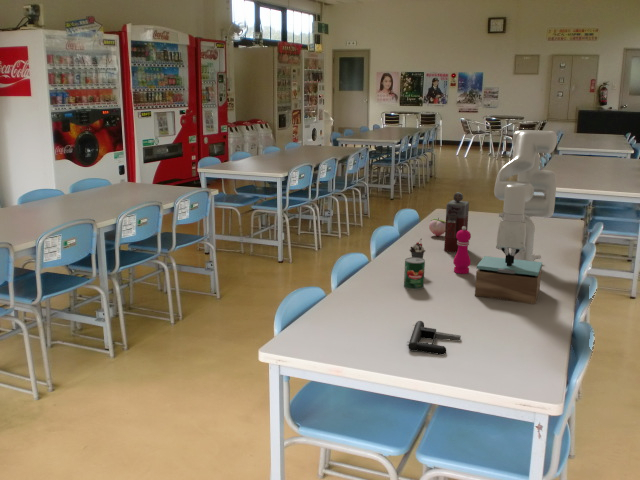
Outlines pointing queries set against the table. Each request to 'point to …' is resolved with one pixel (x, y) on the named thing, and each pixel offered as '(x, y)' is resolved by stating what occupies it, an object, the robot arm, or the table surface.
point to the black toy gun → (428, 333)
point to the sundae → (417, 250)
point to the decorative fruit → (437, 227)
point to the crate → (507, 286)
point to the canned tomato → (414, 273)
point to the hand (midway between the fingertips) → (509, 265)
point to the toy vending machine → (455, 221)
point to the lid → (517, 267)
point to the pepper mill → (462, 252)
